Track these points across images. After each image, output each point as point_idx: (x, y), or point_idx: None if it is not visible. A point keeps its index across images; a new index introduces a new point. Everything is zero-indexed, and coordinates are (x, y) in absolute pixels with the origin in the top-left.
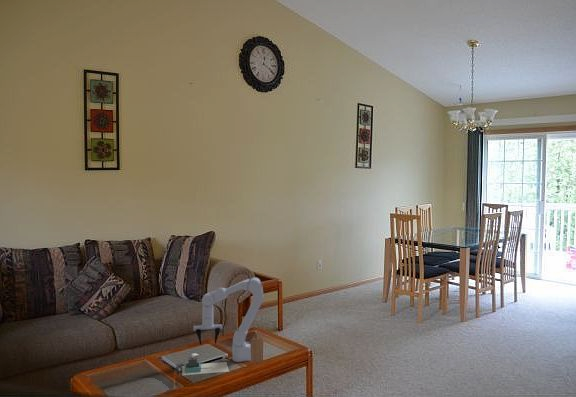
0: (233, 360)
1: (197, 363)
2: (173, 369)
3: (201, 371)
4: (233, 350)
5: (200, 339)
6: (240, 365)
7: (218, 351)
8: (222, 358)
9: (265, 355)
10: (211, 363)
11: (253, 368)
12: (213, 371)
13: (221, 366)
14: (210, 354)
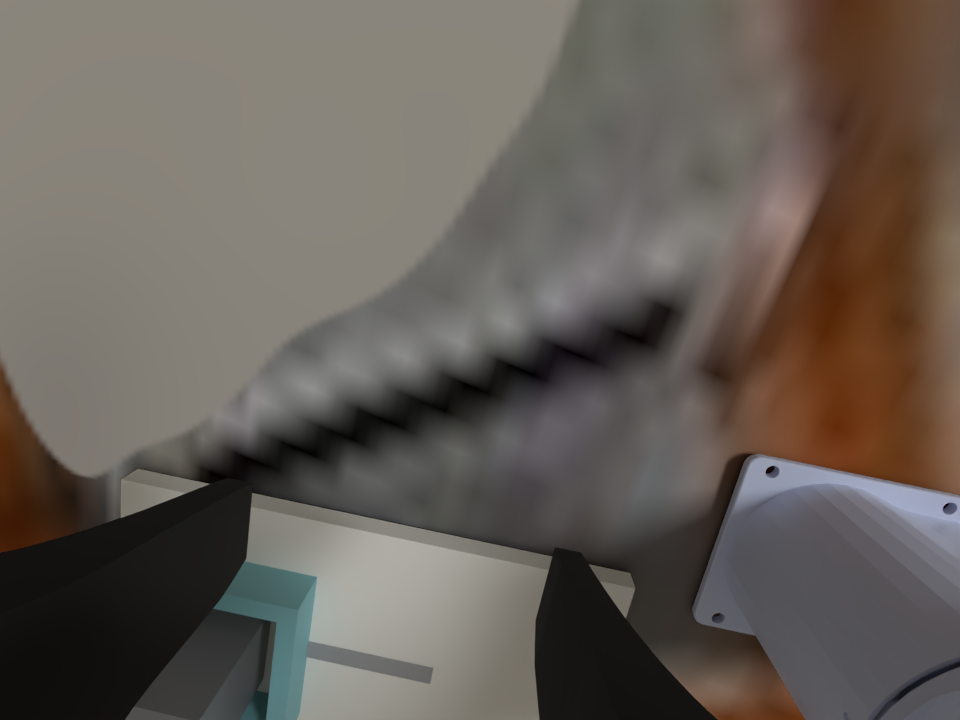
0: (733, 588)
1: (266, 611)
2: (51, 472)
3: (304, 715)
4: (802, 699)
5: (151, 670)
6: (761, 658)
7: (719, 34)
8: (659, 366)
9: None
10: (454, 560)
11: None
12: None
13: (534, 682)
14: (558, 132)
